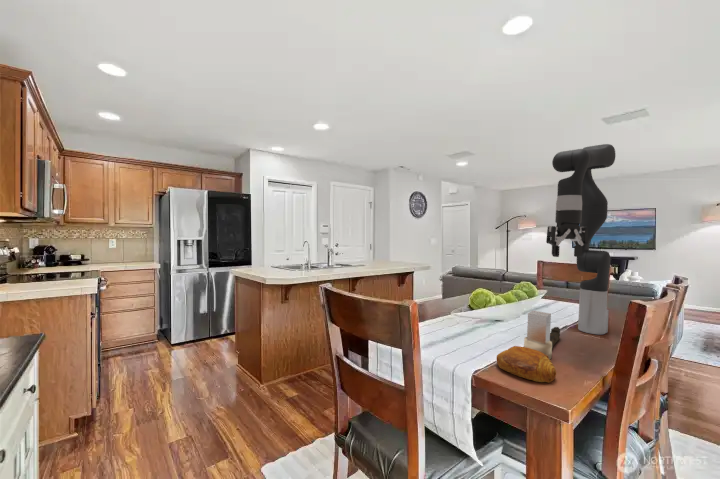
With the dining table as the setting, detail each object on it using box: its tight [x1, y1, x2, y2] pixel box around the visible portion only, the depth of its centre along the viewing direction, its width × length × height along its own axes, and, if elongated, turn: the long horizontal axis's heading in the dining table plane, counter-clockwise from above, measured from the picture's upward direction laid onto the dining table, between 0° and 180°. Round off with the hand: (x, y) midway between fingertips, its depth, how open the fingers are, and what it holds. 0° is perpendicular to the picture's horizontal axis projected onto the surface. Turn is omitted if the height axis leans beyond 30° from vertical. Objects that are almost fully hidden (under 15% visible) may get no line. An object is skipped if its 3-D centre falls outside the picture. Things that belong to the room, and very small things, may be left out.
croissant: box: [496, 345, 557, 383], centre depth 95 cm, size 14×16×8 cm
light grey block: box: [526, 310, 552, 345], centre depth 107 cm, size 5×5×9 cm
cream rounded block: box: [523, 336, 553, 360], centre depth 107 cm, size 8×8×8 cm
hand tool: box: [550, 326, 561, 349], centre depth 119 cm, size 19×4×5 cm, turn 135°
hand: (566, 256), depth 112 cm, fingers open, 8 cm apart
